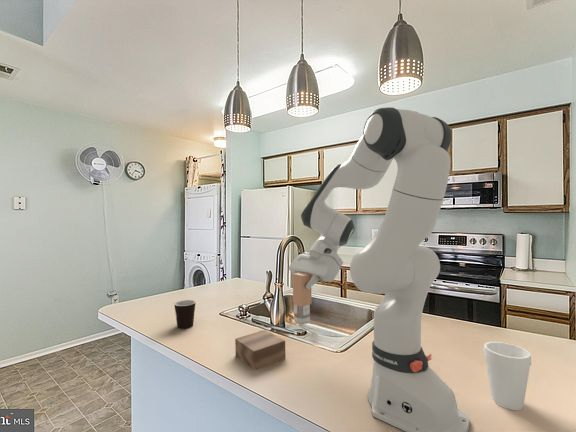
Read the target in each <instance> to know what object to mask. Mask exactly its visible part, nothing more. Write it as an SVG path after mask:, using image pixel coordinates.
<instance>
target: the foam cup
mask: <svg viewBox="0 0 576 432" xmlns="http://www.w3.org/2000/svg"><path fill="white" fill-rule="evenodd" d="M483 354H484V358H485V362H486V369H487V376H488V381H489V382H488V383H489V387H490V388H489V389H490V394H491V400H492V401H493V402H494V403H495V404H496V405H498V406H500V407H502V408H505V409H507V410H511V411H512V410H513V411H519V410H522V409H523V408H524V405H525V399H526V392H527V386H528V380H529V375H530V367H531V366H532V354H531V352H530V351H529V350H527V349H525V347H522V346H519V345H516V344H512V343H508V342H503V341H495V340H494V341H487V342H485V343H483Z"/></svg>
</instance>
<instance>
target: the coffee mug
mask: <svg viewBox="0 0 576 432" xmlns="http://www.w3.org/2000/svg"><path fill="white" fill-rule="evenodd" d="M174 312H175V313H174V314H175V319H176V325H177V326H176V327H177V329H179V330H185V329H186V330H187V329H190V328H192V327H193V326H194V321H195V312H196V301H195V300H193V299H184V300H180V301H176V302H175V303H174Z"/></svg>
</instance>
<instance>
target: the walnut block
mask: <svg viewBox="0 0 576 432" xmlns="http://www.w3.org/2000/svg"><path fill="white" fill-rule="evenodd" d="M234 341H235V346H234V347H235V357H236V358H238V359H240V360H241V362H243V363H245V364H246V365H247V366H248V367H250V368H251V369H252V370H255V371H256V370H258V369H260V368H263V367H265V366H268V365H271V364H274V363H276V362H278V361H281V360H285V359H286V340H285V339H283V338H281V337H279V336H277V335H276V334H273V333H272V332H270V331H268V330H266V329H264V330H259V331H257V332H253V333H250V334H246V335H243V336H240V337H237V338H235V340H234Z"/></svg>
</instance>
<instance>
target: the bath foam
mask: <svg viewBox="0 0 576 432" xmlns="http://www.w3.org/2000/svg"><path fill="white" fill-rule="evenodd" d="M310 305H311V304H310ZM310 305H306V306H302V307H301V306H299V305H296V304H293V322H294V323H295V324H299V325H306V324H309V323H310V322H311V313H310V311H311V309H310Z"/></svg>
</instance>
